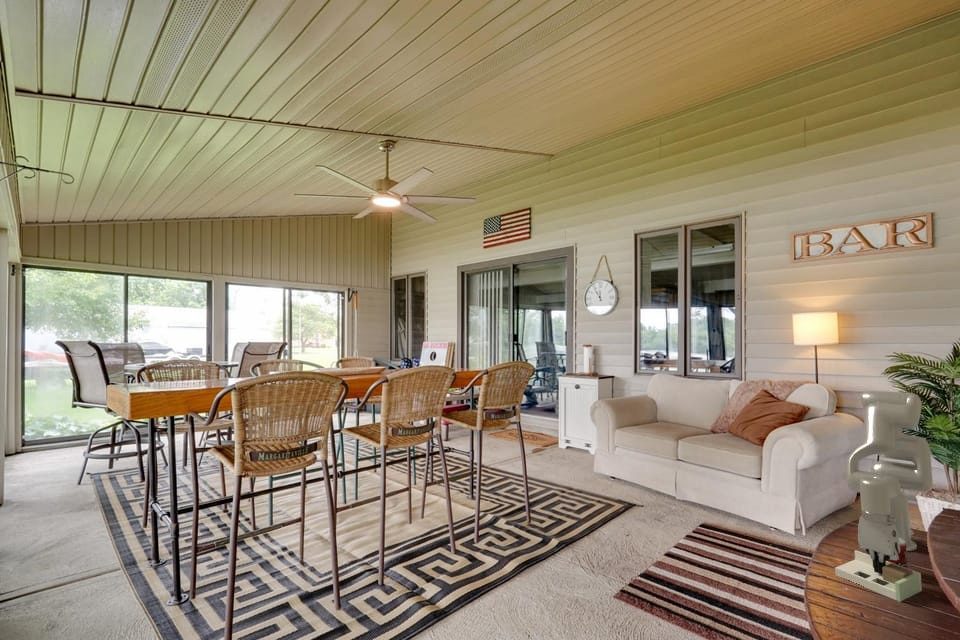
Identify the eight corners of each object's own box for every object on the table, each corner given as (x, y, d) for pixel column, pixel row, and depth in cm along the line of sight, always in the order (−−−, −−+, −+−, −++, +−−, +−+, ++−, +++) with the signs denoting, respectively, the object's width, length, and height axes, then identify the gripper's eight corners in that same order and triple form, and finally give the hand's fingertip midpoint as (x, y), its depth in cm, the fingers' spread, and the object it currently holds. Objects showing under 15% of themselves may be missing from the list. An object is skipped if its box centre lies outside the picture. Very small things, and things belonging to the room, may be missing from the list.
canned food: (902, 579, 155) (899, 546, 155) (873, 568, 162) (871, 537, 162) (912, 572, 159) (910, 540, 159) (883, 563, 166) (881, 532, 166)
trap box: (857, 565, 164) (856, 550, 165) (921, 590, 148) (920, 573, 148) (835, 575, 159) (834, 559, 159) (900, 601, 143) (898, 583, 143)
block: (892, 575, 153) (891, 563, 153) (913, 583, 148) (912, 570, 148) (883, 579, 151) (882, 567, 151) (903, 587, 146) (903, 575, 146)
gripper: (910, 522, 149) (914, 579, 149) (857, 507, 163) (860, 559, 162) (897, 526, 146) (901, 585, 146) (844, 511, 160) (847, 564, 159)
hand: (879, 571), depth 154 cm, fingers closed
